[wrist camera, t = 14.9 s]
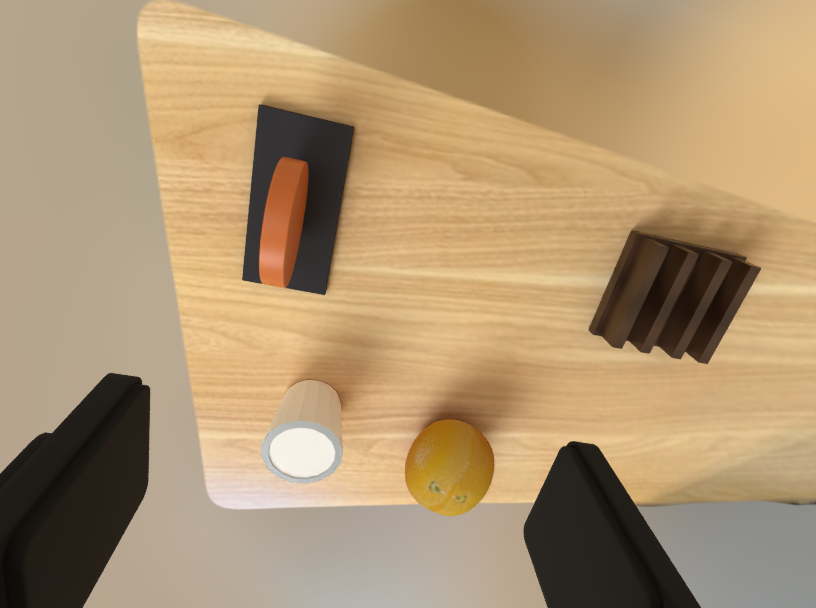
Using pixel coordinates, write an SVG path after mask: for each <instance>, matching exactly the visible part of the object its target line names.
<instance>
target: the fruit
mask: <svg viewBox="0 0 816 608" xmlns="http://www.w3.org/2000/svg"><path fill="white" fill-rule="evenodd" d="M493 473H494V455H493V451H492V448H491V446H490V444H489V442H488V441H487V439H486V438H485V437H484V436H483V435H482V434H481V433H480V432H479V431H478V430H477V429H476V428H474V427H472V426H471V425H469V424H467V423H465V422H462V421H459V420H453V419H444V420H439V421H436V422H434V423H432V424H430V425H429V426H428V427H426V428H425V429H424V430H423V431H422V432H421V433H420V434H419V435H418V437H417V438H416V439H415V441H414V442H413V444H412V446H411V448H410V450H409V453H408V456H407V459H406V465H405V479H406V484H407V487H408V489H409V492H410V493H411V495H412V496H413V498H414V499H415V500H416V501H417V502H418V503H419V504H421V505H422V506H424V507H425V508H428V509H429V510H431V511H433V512H436V513H438V514H441V515H445V516H455V515H460V514H463V513H465V512H467V511H469V510H471V509H472V508H473V507H475V506H476V505H477V504H478V503H479V502H480V501H481V500H482V498H483V497H484V496H485V494H486V492H487V491H488V489H489V486H490V484H491V481H492V478H493Z"/></svg>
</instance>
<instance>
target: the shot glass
mask: <svg viewBox="0 0 816 608" xmlns="http://www.w3.org/2000/svg"><path fill="white" fill-rule="evenodd" d="M342 454H343V441H342V422H341V403H340V400H339V397H338V394H337V392H336V391H335V390H334V389H333V388H332V387H331V386H330V385H328V384H325V383H323V382H321V381H315V380H305V381H301V382H297V383H296V384H294V385H293V386H291V387H289V388H288V390H287V391H286V393H285V395H284V396H283V398H282V400H281V403H280V405H279V407H278V409H277V411H276V414H275V416H274V418H273V420H272V422H271V425H270V427H269V429H268V431H267V433H266V436H265V438H264V440H263V442H262V450H261V457H262V459H263V461H264V463H265V465H266V468H268V469H269V470H270V471H271V472H272V473H273V474H274V475H276V476H277V477H279V478H281V479H284V480H286V481H289V482H293V483H306V484H307V483H311V482H316V481H320V480H323V479H324V478H326V477H328V476H329V475H331V474H333V473H334V472H335V470H336V469H337V468H338V466H339V465H340V463H341V460H342Z"/></svg>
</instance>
